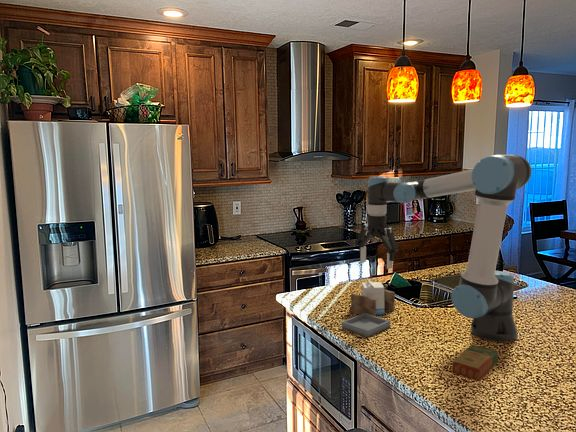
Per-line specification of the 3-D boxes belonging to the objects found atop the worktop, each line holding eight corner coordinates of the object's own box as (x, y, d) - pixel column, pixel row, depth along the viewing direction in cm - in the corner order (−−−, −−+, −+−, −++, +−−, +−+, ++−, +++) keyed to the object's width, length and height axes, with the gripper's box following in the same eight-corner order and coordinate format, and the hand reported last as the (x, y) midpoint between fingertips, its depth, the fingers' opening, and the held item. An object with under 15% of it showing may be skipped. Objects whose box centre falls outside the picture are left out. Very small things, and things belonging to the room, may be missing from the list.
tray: (390, 327, 164) (390, 320, 163) (367, 337, 155) (367, 331, 154) (364, 318, 173) (364, 312, 173) (341, 328, 164) (341, 321, 164)
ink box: (384, 314, 177) (384, 283, 175) (364, 315, 177) (364, 283, 175) (380, 307, 185) (380, 277, 183) (361, 308, 185) (361, 278, 184)
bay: (394, 310, 181) (394, 292, 180) (374, 319, 172) (374, 300, 171) (369, 303, 191) (369, 286, 190) (349, 311, 182) (349, 293, 181)
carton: (451, 373, 128) (451, 360, 128) (471, 355, 140) (471, 342, 139) (479, 383, 122) (480, 368, 122) (498, 362, 134) (498, 349, 133)
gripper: (408, 216, 167) (407, 269, 171) (359, 210, 186) (358, 257, 189) (397, 219, 163) (395, 273, 166) (347, 212, 181) (347, 260, 184)
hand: (376, 265), depth 178 cm, fingers open, 13 cm apart
